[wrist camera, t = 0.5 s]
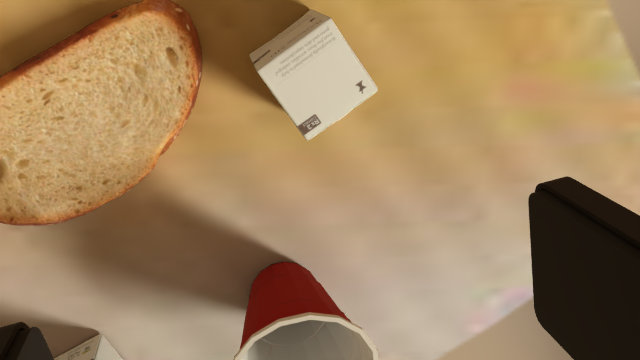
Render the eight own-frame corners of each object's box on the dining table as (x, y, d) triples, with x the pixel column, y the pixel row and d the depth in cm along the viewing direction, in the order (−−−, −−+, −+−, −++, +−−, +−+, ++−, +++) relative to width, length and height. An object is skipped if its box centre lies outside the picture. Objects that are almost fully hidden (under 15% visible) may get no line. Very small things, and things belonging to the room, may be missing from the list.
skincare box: (310, 7, 42) (331, 13, 36) (354, 72, 45) (381, 90, 38) (246, 55, 43) (254, 71, 36) (292, 118, 45) (308, 143, 38)
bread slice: (207, 2, 41) (207, 5, 38) (190, 227, 47) (189, 247, 43) (-71, -36, 37) (-98, -37, 34) (-53, 216, 43) (-75, 237, 39)
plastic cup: (221, 347, 51) (227, 451, 40) (220, 239, 47) (227, 320, 36) (338, 339, 53) (374, 435, 42) (346, 234, 50) (388, 310, 39)
